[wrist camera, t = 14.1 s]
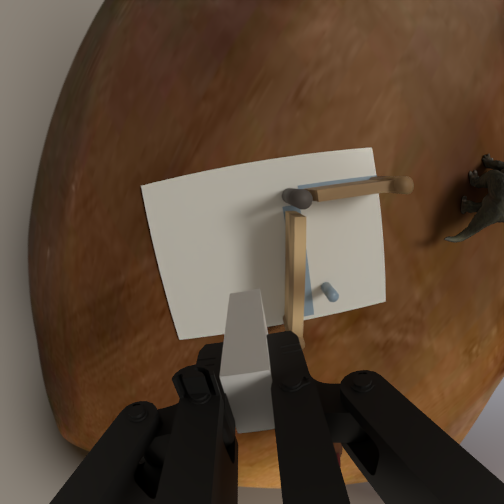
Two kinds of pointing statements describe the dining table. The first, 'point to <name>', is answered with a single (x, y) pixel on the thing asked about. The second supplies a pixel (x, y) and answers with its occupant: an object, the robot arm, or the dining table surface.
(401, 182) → the fence fixed
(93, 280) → the dining table surface
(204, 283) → the card
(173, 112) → the dining table surface
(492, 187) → the dinosaur figurine
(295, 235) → the fence panel
